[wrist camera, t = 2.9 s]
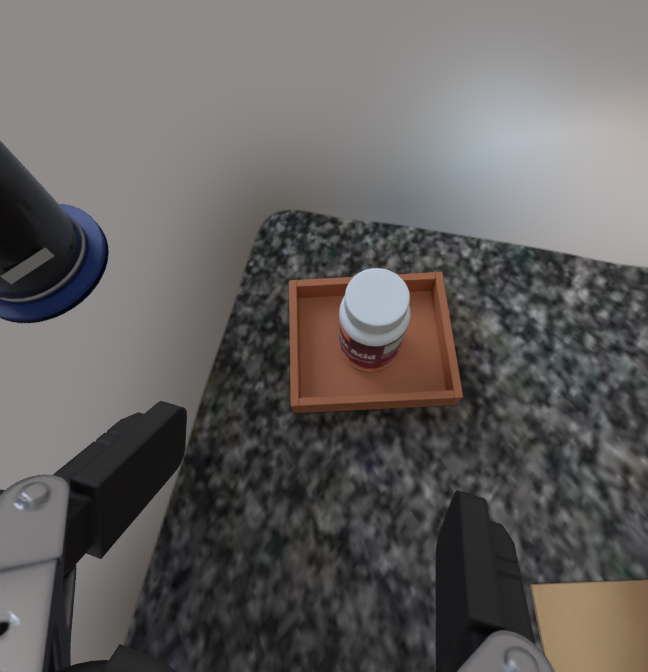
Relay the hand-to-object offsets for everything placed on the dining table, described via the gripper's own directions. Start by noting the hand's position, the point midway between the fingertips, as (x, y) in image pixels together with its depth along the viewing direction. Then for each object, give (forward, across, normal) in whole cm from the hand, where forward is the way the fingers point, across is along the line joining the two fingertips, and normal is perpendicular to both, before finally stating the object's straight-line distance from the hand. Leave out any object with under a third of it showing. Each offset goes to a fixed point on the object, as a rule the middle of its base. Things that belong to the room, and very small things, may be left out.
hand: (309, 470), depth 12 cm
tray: (+22, 0, +6) cm, 23 cm away
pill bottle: (+22, 0, +5) cm, 23 cm away
